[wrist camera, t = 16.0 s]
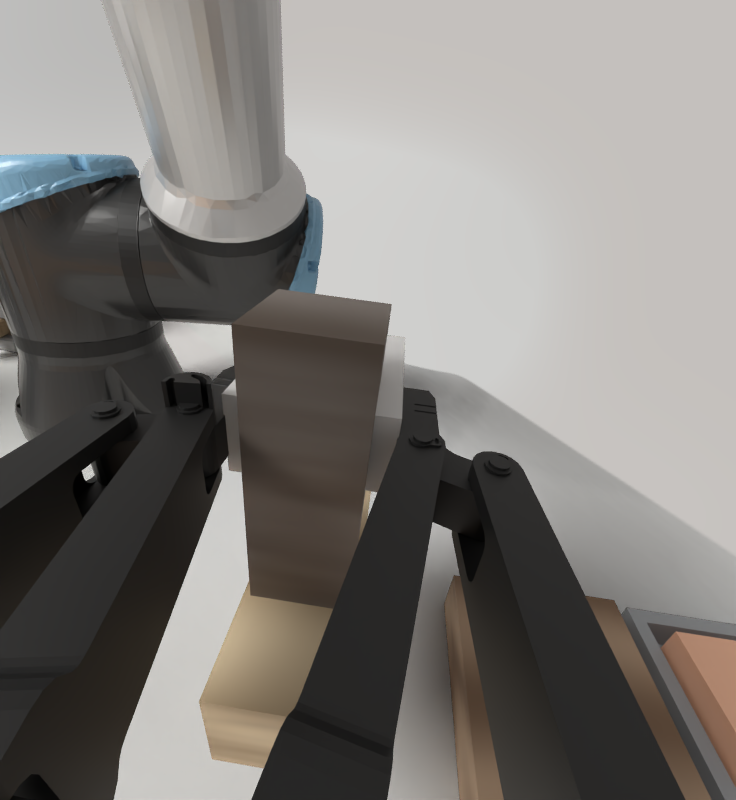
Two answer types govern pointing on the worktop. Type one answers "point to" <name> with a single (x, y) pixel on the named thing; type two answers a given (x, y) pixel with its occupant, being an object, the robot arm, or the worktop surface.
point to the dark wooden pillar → (293, 501)
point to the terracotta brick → (708, 687)
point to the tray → (649, 639)
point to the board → (470, 715)
